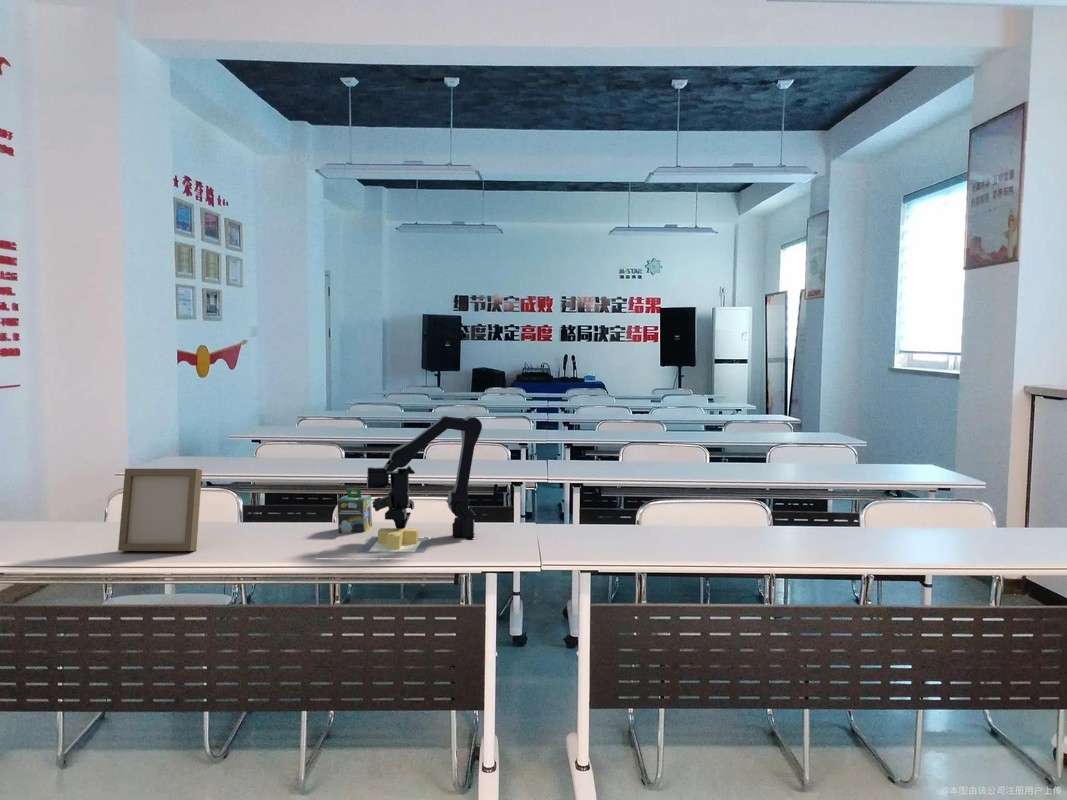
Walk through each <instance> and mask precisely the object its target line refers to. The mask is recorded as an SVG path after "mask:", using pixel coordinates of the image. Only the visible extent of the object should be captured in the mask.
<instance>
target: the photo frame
mask: <svg viewBox="0 0 1067 800" xmlns="http://www.w3.org/2000/svg"><path fill="white" fill-rule="evenodd" d="M202 474H203V470H202V469H200V468H124V476H123V477H124V478H123V490H122V499H121V500H122V503H121V513H120V522H119V523H120V525H119V535H118V545H117V546H118V547H117V548H118V549H117V552H133V551H134V552H186V551H187V552H195V550H196V551H197V549H198V548H197V547H198V545H197V544H198V532H199V521H200V520H199V519H200V517H199V516H200V507H201V506H200V503H201V491H202V477H203V476H202Z"/></svg>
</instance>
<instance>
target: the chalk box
mask: <svg viewBox="0 0 1067 800" xmlns="http://www.w3.org/2000/svg"><path fill="white" fill-rule="evenodd" d="M352 492H356V494H352ZM346 493H347V495H345V496H341V497H340V498H339V499H338V500H337V522H338V523H337V524H338V526H337V527H338V533H339V532H343V533H365V532H367V531H368V530H370V529H371V528H372V527H373V518H372V495H371V494H362V492H361V488H360V487H347V488H346ZM371 526H372V527H371ZM370 527H371V528H370ZM369 528H370V529H369ZM366 530H367V531H366Z"/></svg>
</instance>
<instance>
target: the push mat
mask: <svg viewBox="0 0 1067 800" xmlns="http://www.w3.org/2000/svg"><path fill="white" fill-rule="evenodd" d="M432 540H433V538H432V539H429V538H428V537H424V538H418V542H417V543H416V544H403V545H402V546H401V548H400V549H386V544H378V535H377V536H371V537H370V538H369V539H368V540H367V542H365V544H363V545H362V547H361V548H360V549H359V550H358V551H357V553H370V554H371V553H375V554H376V553H378V554H379V553H381V554H382V553H391V554H392V553H397V554H399V553H401V554H403V553H405V554H406V553H408V554H409V553H415V554H416V553H419V554H421V553H425V552H426V550H427V549H428V547H429V545H430V543H431V541H432Z"/></svg>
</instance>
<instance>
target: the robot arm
mask: <svg viewBox="0 0 1067 800" xmlns="http://www.w3.org/2000/svg"><path fill="white" fill-rule="evenodd" d="M482 424H483V423H482V422H481V420H480V419H479V418H478V417H477V418H476V417H475V416H472V415H468V416H466V417H463V418H462V417H454V416H448V415H442V416H441V417H439V419H437V420H436V422H434V423H433V424H431V425H430V426H429V427H427V428H426V429H425V430H424V431H422V432H421V433H419V434H418V435H417V436H415V437H414V438H412V440H410V441H407V442H406V443H403V444H401V445H400V446H399V445H398V446H397V447H395V448H393V449H392V450H391V451H390V453H389V459H388V460H387V462H386V463H385V465H384V466H383V467H372V466H371V467H367V472H366V474H367V476H366V489H367V490H379V489H380V490H383V489H386V487H388V486H389V484H390V491H389V492H388V495H385V496H382V497H381V496H379V497H376V498H375V499H373V501H371V504H372V508H373V509H374V510H375V512H379V511H380V510H382V509H386V508H388V509H387V510H386V511H385V512H384V520H387V521H388V520H389V521H390V520H391V521H393V522H394V526H395V528H407V527H406V526H407V525H408V521H409V519H410V516H411V514H412V512H411V511H410V512H408V510H407V509H410V510H414V509H415V502H414V501H413V500H412V499H410V493H411V489H410V488H409V487H410V486H409V485H410V484H409V483H410V479H409V478H410V476H409V475H414V474H416V472H415V470H414V469H412V467H411V465H409V463H410V462H411V461H412V460H413V459H414V458H415V456H416V455H417V454H418V453H419V452H420V451H421V450H422V449H423V448H425V447H426V446H427V445H428V444H429V443H431V442H432V441H434V440H435V439H436V438H437V437H439V436H441V435H442V434H443V433H444V432H446V431H447V430H448V429H449V430H456V431H460V433H461V449H460V454H459V455H460V456H459V460H458V461H459V462H458V466H457V472H456V478H455V479H456V480H455V484H454V487H453V488H452V490H450V489H448V491H447V492H448V493H447V499H446V503H447V508H448V509H449V510H450V512H451V513H452V514H453V515H454V516H455V517H454V520H453V523H452V537H453V539H466V540H468V539H467V538H470V539H469V540H472V539H471V538H474V539H475V536H476V533H475V518H476V513H475V512H474V511H473V510H472V509H471V508H470V507H469V506H470V505H469V504H470V503H469V502H470V501H469V492H468V491H469V490H468V487H469V480H470V476H471V468H472V463H473V457H474V451H475V446H476V444H477V442H478V440H479V437H480V436H481V435H480V434H481V432H482V429H483V425H482ZM474 535H475V536H474Z"/></svg>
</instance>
